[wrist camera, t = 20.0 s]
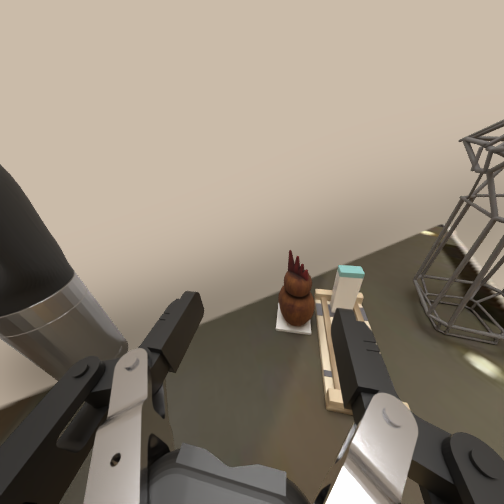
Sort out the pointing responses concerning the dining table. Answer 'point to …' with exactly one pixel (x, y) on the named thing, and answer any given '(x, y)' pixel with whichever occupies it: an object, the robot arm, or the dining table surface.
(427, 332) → the dining table surface
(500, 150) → the geometric lantern
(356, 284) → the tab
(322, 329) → the light wooden tray
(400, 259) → the dining table surface
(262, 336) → the dining table surface
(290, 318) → the wooden figurine
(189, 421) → the dining table surface
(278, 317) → the pad
